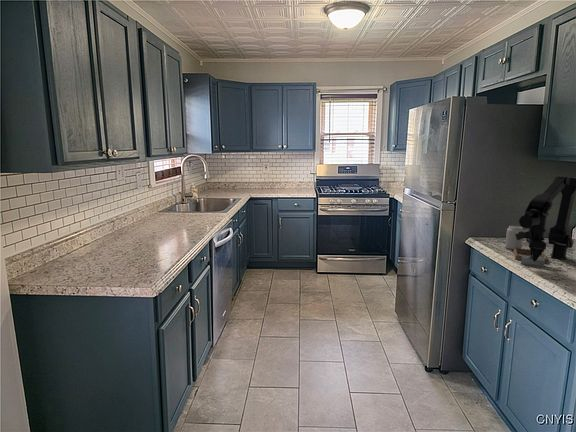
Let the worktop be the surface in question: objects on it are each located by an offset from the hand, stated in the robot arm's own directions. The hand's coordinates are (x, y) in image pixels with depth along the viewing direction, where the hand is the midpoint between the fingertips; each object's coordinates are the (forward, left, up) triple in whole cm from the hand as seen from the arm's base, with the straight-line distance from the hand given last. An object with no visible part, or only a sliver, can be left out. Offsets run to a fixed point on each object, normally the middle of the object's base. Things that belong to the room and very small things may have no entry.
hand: (533, 258), depth 171 cm
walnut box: (-12, 0, -3) cm, 13 cm away
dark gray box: (0, 0, -3) cm, 3 cm away
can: (-26, -7, -3) cm, 27 cm away
